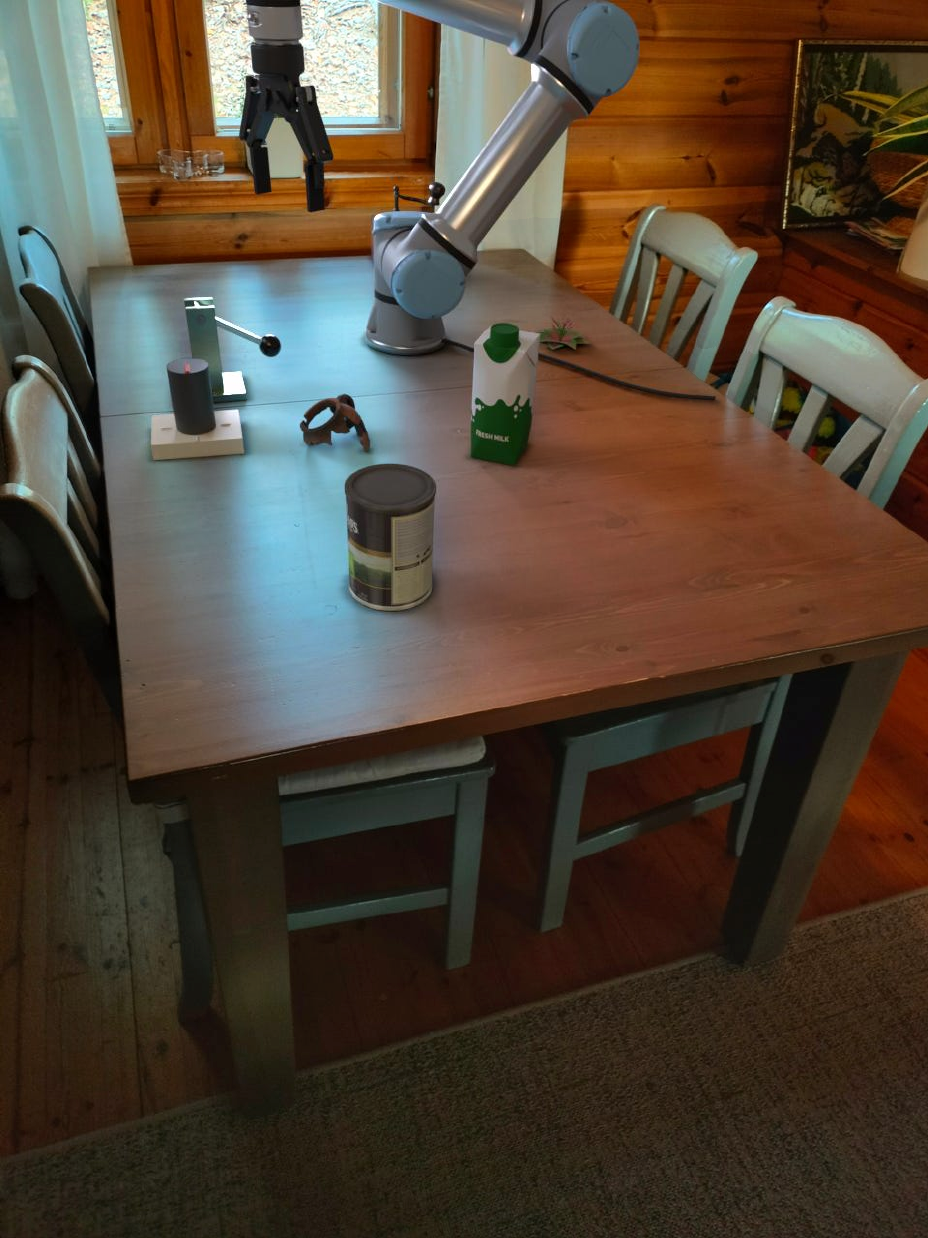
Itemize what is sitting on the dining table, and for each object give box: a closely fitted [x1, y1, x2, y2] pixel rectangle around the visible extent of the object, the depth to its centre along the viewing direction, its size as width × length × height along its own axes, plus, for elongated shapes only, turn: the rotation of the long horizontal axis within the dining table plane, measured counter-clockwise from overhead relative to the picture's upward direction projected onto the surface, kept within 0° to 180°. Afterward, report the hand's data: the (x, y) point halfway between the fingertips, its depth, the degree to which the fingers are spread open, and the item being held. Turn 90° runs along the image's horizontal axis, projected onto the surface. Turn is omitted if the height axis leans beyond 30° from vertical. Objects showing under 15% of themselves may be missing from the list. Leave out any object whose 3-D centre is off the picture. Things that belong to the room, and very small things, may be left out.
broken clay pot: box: [299, 393, 371, 453], centre depth 139 cm, size 12×10×8 cm
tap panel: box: [150, 409, 245, 461], centre depth 137 cm, size 13×10×3 cm
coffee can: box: [344, 463, 437, 612], centre depth 106 cm, size 10×10×14 cm
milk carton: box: [470, 322, 540, 467], centre depth 134 cm, size 9×9×20 cm
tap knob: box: [166, 357, 216, 435], centre depth 134 cm, size 6×6×10 cm
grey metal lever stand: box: [183, 296, 248, 403], centre depth 148 cm, size 11×9×15 cm
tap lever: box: [192, 302, 282, 358], centre depth 148 cm, size 15×4×4 cm, turn 108°
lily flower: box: [534, 315, 592, 351], centre depth 176 cm, size 12×12×5 cm
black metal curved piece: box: [370, 181, 446, 262], centre depth 208 cm, size 16×11×18 cm
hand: (289, 201), depth 142 cm, fingers open, 13 cm apart
